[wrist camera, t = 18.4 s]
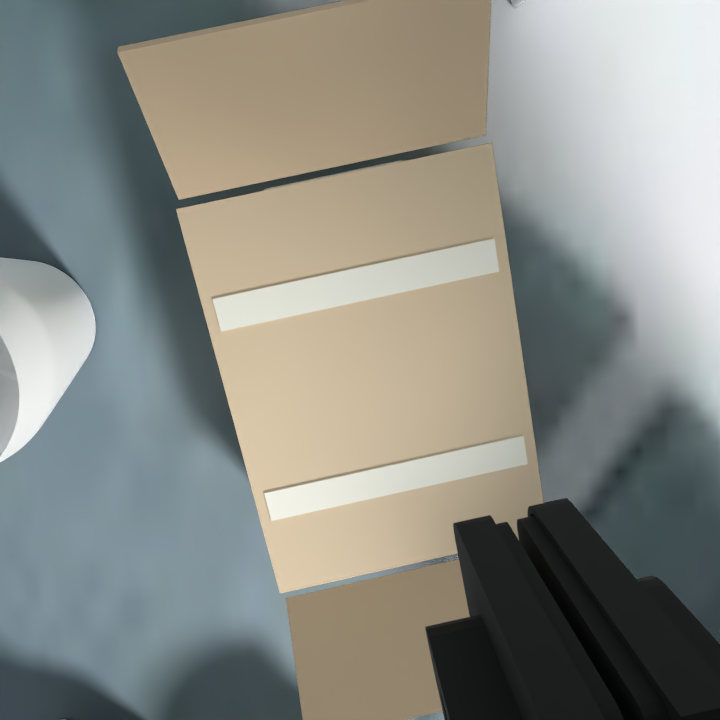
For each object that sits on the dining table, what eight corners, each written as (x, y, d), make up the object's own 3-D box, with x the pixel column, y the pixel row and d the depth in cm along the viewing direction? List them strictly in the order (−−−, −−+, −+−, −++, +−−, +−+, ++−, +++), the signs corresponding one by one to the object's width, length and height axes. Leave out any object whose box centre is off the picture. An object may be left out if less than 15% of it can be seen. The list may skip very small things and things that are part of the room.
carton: (452, 152, 34) (494, 139, 26) (501, 465, 39) (550, 533, 31) (206, 204, 34) (174, 206, 26) (286, 513, 38) (279, 594, 30)
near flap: (485, 135, 26) (482, 129, 26) (492, -25, 22) (488, -30, 22) (178, 199, 26) (178, 193, 26) (117, 52, 21) (118, 46, 21)
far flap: (590, 677, 28) (588, 677, 28) (544, 539, 31) (543, 541, 31) (305, 742, 28) (307, 742, 28) (285, 598, 31) (287, 599, 31)
